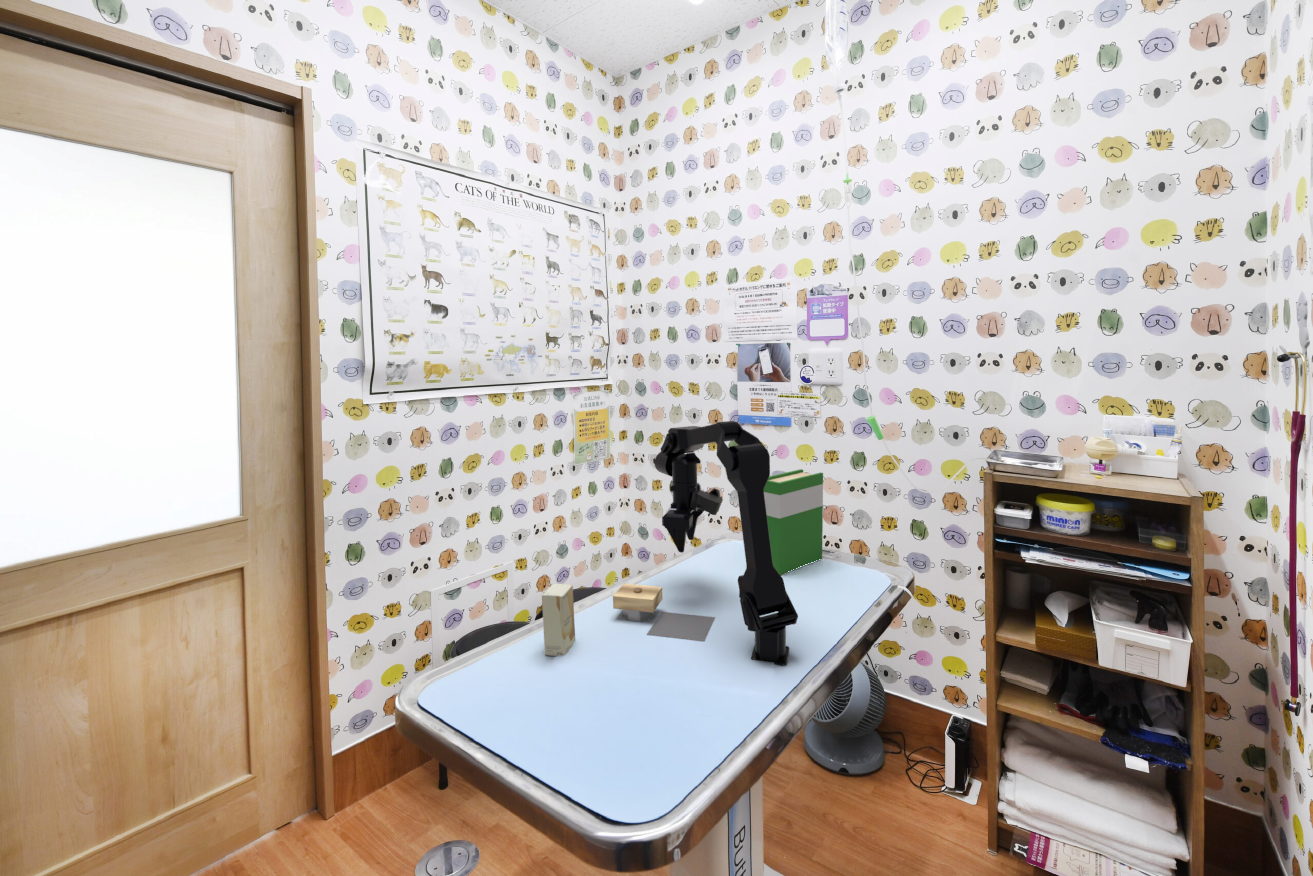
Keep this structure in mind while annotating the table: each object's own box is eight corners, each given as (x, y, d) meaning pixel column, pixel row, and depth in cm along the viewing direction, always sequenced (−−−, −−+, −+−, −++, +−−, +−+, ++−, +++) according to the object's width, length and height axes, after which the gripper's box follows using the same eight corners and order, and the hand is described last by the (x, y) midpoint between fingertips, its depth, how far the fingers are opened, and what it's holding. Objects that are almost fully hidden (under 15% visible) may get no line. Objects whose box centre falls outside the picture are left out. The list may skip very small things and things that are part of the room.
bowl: (648, 624, 125) (647, 611, 125) (620, 621, 127) (619, 608, 127) (657, 611, 131) (656, 599, 131) (629, 609, 133) (629, 596, 133)
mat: (704, 643, 116) (704, 641, 116) (646, 637, 120) (646, 634, 120) (715, 619, 127) (715, 617, 127) (661, 613, 130) (661, 611, 130)
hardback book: (800, 552, 167) (800, 469, 163) (822, 559, 161) (823, 473, 157) (757, 568, 156) (757, 479, 152) (779, 575, 150) (779, 483, 147)
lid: (653, 612, 124) (652, 597, 124) (613, 608, 127) (612, 593, 126) (662, 599, 131) (662, 584, 130) (624, 595, 133) (623, 581, 133)
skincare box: (565, 657, 113) (562, 596, 111) (544, 656, 113) (540, 595, 112) (576, 641, 119) (573, 583, 117) (556, 640, 120) (552, 582, 118)
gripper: (710, 491, 125) (712, 562, 127) (726, 473, 143) (727, 535, 145) (660, 489, 128) (662, 558, 131) (681, 472, 146) (683, 533, 148)
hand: (686, 545), depth 138 cm, fingers open, 9 cm apart
